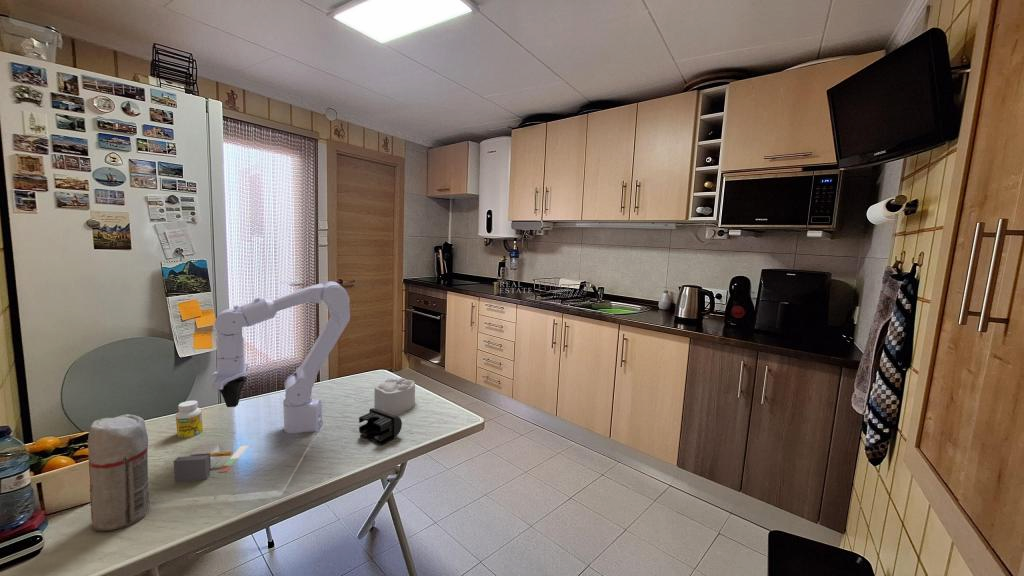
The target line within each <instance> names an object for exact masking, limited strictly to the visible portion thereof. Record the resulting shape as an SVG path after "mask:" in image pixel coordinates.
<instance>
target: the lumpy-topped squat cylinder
mask: <svg viewBox="0 0 1024 576" xmlns="http://www.w3.org/2000/svg"><path fill="white" fill-rule="evenodd" d="M415 400H416V382H415V381H414V380H412V379H409V378H408V379H406V378H404V377H400V378H398V379H397V378H395V379H394V378H392V377H389V378H387V379H385V381H384V382H381V383H379V384H377V385H375V386H374V401H373V402H374V409H377V410H380V411H383V412H386V413H389V414H391V415H397V414H399V413H403V412H405V411H408V410H410V409H412V408H413V407H414V406H415V403H416V401H415Z"/></svg>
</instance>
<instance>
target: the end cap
mask: <svg viewBox="0 0 1024 576" xmlns="http://www.w3.org/2000/svg"><path fill="white" fill-rule="evenodd" d="M365 421H366V423H365V424H362V425H360V426H358V431H359V434H360V435H359V437H360V438H362V439H363V440H367V441H369V442H371V443H373V444H375V445H378V446H380V447H381V446H384V445H387V444H389V443H391V442H392V441H393V440H395V438H396V437H397V436H398V435H399V434H400V432H401V431H402V426H403V422H402V418H400V417H399V416H397V415H395V414H393V415H391V414H389V413H386V412H383V411H380V410H377V409H375V407H371V408H369V412H368V413H366V414H364V415H361V416H359V418H358V423H359V424H361V423H362V422H365Z"/></svg>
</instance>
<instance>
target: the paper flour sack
mask: <svg viewBox="0 0 1024 576" xmlns="http://www.w3.org/2000/svg"><path fill="white" fill-rule="evenodd" d="M87 437H88V438H87V449H88V450H87V451H88V472H89V473H88V474H89V493H90V494H89V496H90V500H89V501H90V504H89V505H90V510H91V511H90V514H91V515H90V517H91V523H92V524H91V530H92V531H96V532H107V531H112V530H118V529H121V528H122V529H123V528H125V527H129V526H130V525H132V524H134V523H136V522H139V521H140V520H142V519H143V518H144V517H145V516H146V514H148V511H149V509H150V506H149V505H150V501H149V499H150V498H149V497H150V496H149V494H150V492H149V472H148V470H149V468H148V467H149V465H148V463H149V461H148V457H149V456H148V455H149V454H148V453H149V452H148V449H149V448H148V446H149V435H148V433H147V427H146V422H145V419H144V418H142V417H140V416H138V415H134V414H128V413H127V414H122V415H117V416H115V417H103V418H100V419H96V420H94V421H93V422H92V423H91V425H90V427H89V431H88V436H87Z"/></svg>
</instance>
